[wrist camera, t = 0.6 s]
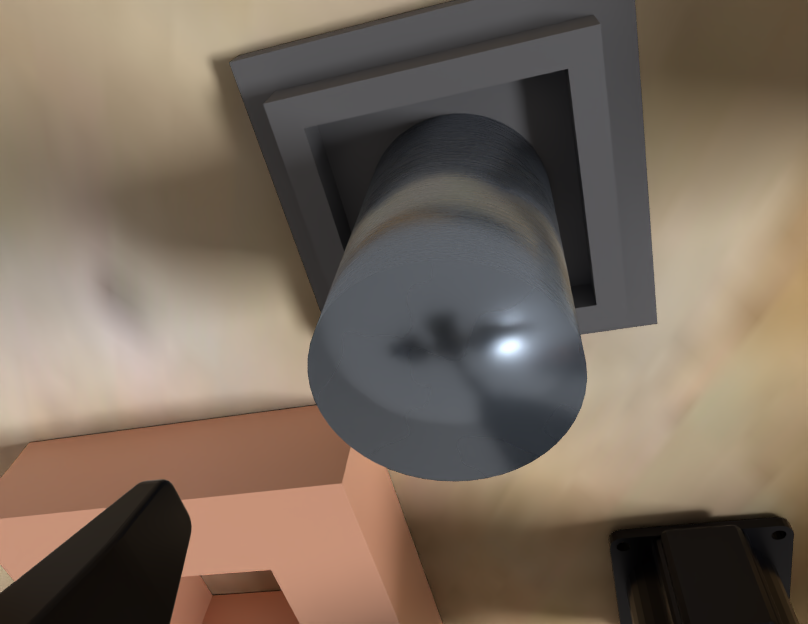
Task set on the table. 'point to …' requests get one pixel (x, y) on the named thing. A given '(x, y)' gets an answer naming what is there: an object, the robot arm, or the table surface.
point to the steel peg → (452, 310)
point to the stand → (473, 94)
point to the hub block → (237, 516)
